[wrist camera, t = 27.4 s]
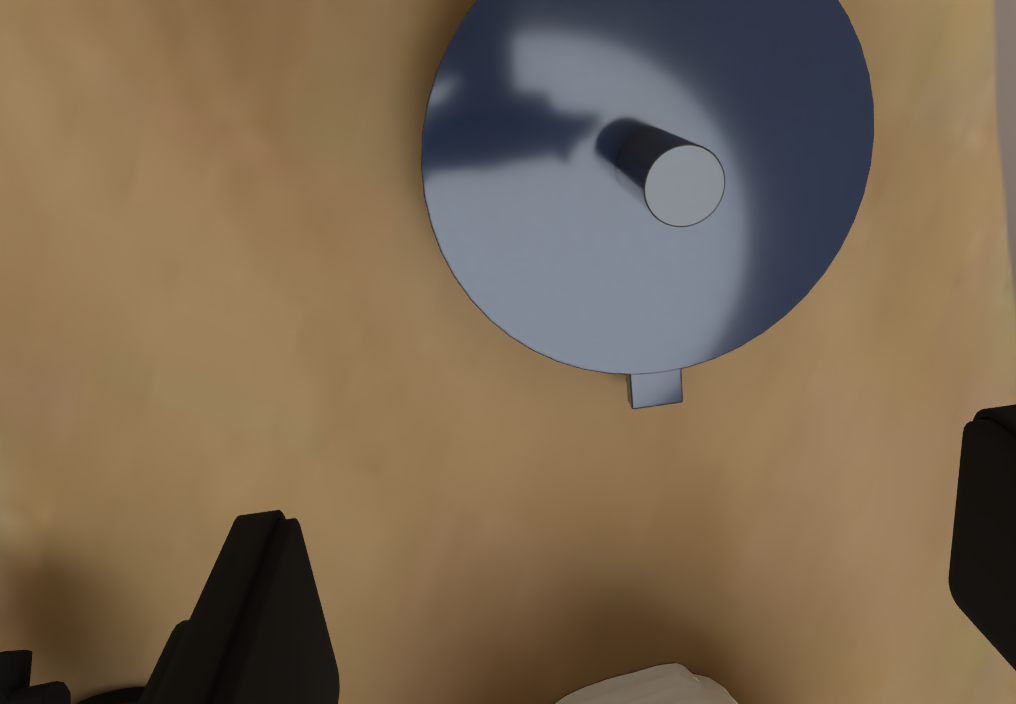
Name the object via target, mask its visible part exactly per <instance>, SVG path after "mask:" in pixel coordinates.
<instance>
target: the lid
mask: <svg viewBox="0 0 1016 704" xmlns="http://www.w3.org/2000/svg"><path fill="white" fill-rule="evenodd" d="M873 139H874V105H873V97H872V90H871V84H870V77H869V72H868V68H867V65H866V61H865V58H864V55H863V51H862V48H861V44H860V42H859V40H858V37H857V35H856V33H855V31H854V28H853V26H852V24H851V22H850V19H849V17H848V15H847V14H846V12H845V10H844V9H843V7H842V6H841V4H840V3H839V1H838V0H477V1H476V2H475V4H474V5H473V6H472V7H471V8H470V10H469V11H468V12H467V14H466V15H465V17H464V19H463V20H462V22H461V24H460V25H459V27H458V29H457V30H456V32H455V34H454V35H453V37H452V39H451V40H450V42H449V44H448V47H447V49H446V51H445V53H444V56H443V58H442V60H441V62H440V65H439V67H438V69H437V71H436V75H435V78H434V82H433V85H432V88H431V92H430V95H429V98H428V102H427V107H426V113H425V120H424V126H423V132H422V154H421V169H422V179H423V190H424V198H425V202H426V206H427V210H428V215H429V219H430V223H431V227H432V229H433V232H434V235H435V237H436V240H437V243H438V245H439V248H440V251H441V253H442V255H443V257H444V259H445V260H446V262H447V264H448V266H449V268H450V270H451V272H452V274H453V275H454V277H455V279H456V280H457V281H458V283H459V284H460V286H461V287H462V288H463V290H464V291H465V293H466V294H467V295H468V297H469V298H470V300H471V301H472V302H473V303H474V304H475V305H476V306H477V307H478V308H479V309H480V310H481V311H482V312H483V313H484V314H485V316H486V317H487V318H488V319H489V320H490V321H492V322H493V323H494V324H495V325H497V326H498V327H499V328H500V329H501V330H503V331H504V332H505V333H506V334H508V335H509V336H510V337H512V338H513V339H515V340H517V341H518V342H520V343H521V344H523V345H525V346H526V347H528V348H530V349H531V350H533V351H535V352H537V353H539V354H542V355H544V356H546V357H548V358H551V359H553V360H555V361H557V362H561V363H564V364H567V365H571V366H574V367H577V368H581V369H585V370H591V371H597V372H603V373H609V374H633V375H637V374H649V373H662V372H667V371H672V370H677V369H682V368H687V367H690V366H693V365H696V364H700V363H703V362H706V361H709V360H712V359H715V358H717V357H719V356H721V355H723V354H725V353H728V352H730V351H732V350H734V349H736V348H738V347H740V346H742V345H744V344H745V343H747V342H749V341H750V340H752V339H754V338H755V337H757V336H758V335H760V334H762V333H763V332H765V331H766V330H767V329H769V328H770V327H771V326H772V325H774V324H775V323H776V322H778V321H779V320H780V319H781V318H783V317H784V316H785V315H786V314H787V313H789V312H790V311H791V310H792V309H793V308H794V307H795V306H796V305H797V304H798V303H799V302H800V301H801V300H802V299H803V298H804V297H805V296H806V295H807V294H808V293H809V291H810V290H811V289H812V288H813V286H814V285H815V284H816V283H817V282H818V280H819V279H820V278H821V277H822V276H823V274H824V273H825V272H826V270H827V269H828V267H829V265H830V264H831V262H832V261H833V259H834V258H835V256H836V255H837V253H838V252H839V250H840V248H841V247H842V245H843V243H844V240H845V238H846V236H847V234H848V232H849V230H850V228H851V226H852V224H853V222H854V220H855V217H856V214H857V212H858V209H859V206H860V203H861V200H862V198H863V195H864V191H865V187H866V183H867V178H868V174H869V170H870V166H871V158H872V148H873Z"/></svg>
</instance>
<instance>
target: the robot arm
mask: <svg viewBox="0 0 1016 704" xmlns="http://www.w3.org/2000/svg"><path fill="white" fill-rule="evenodd" d="M949 587H950V591H951V594H952V597H953V599H954V601H955V603H956V604H957V605H958V607H959V608H960V609H961V610H962V611H963V612H964V614H965V615H966V616H967V617H968V618H969V619H970V620H971V621H972V622H973V624H974V625H975V626H976V627H977V628H978V629H979V630H980V631H981V633H982V634H983V635H984V636H985V637H986V638H987V639H988V640H989V641H990V643H991V644H992V645H993V646H994V647H995V648H996V649H997V650H998V651H999V653H1000V654H1001V655H1002V656H1003V657H1004V658H1005V659H1006V660H1007V662H1008V663H1009V664H1010V665H1011V666H1012V667H1013V668H1014V669H1015V670H1016V405H1009V406H1002V407H995V408H988V409H982V410H980V411H979V412H977V414H976V415H975V417H974V419H973V421H970V422H969V423H967V424H966V426H965V427H964V431H963V437H962V447H961V457H960V468H959V478H958V488H957V498H956V508H955V518H954V528H953V538H952V548H951V558H950V568H949ZM339 687H340V686H339V673H338V668H337V664H336V660H335V656H334V652H333V649H332V645H331V641H330V637H329V633H328V630H327V626H326V622H325V618H324V614H323V611H322V607H321V603H320V599H319V595H318V591H317V588H316V584H315V580H314V576H313V572H312V569H311V565H310V561H309V557H308V553H307V550H306V546H305V542H304V538H303V534H302V531H301V527H300V524H299V522H298V520H297V519H296V518H293V519H285V516H284V514H283V513H282V512H281V511H280V510H275V511H268V512H261V513H254V514H247V515H240V516H237V518H236V519H235V521H234V523H233V525H232V528H231V530H230V532H229V534H228V536H227V538H226V541H225V543H224V545H223V547H222V549H221V552H220V554H219V556H218V558H217V560H216V563H215V565H214V567H213V569H212V571H211V574H210V576H209V578H208V580H207V582H206V584H205V587H204V589H203V591H202V593H201V595H200V598H199V600H198V602H197V604H196V606H195V609H194V611H193V613H192V615H191V617H190V620H185V621H182V622H180V623H179V624H177V625H176V627H175V628H174V630H173V631H172V633H171V635H170V637H169V639H168V641H167V643H166V645H165V647H164V649H163V652H162V654H161V656H160V658H159V660H158V662H157V664H156V666H155V668H154V670H153V673H152V675H151V677H150V679H149V681H148V683H147V685H146V687H145V689H144V691H143V694H142V696H141V698H140V700H139V702H138V704H338V700H339Z"/></svg>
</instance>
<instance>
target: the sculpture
mask: <svg viewBox="0 0 1016 704" xmlns="http://www.w3.org/2000/svg"><path fill="white" fill-rule="evenodd" d="M31 662H32V651H29V650H16V651H4V652H0V704H70V703H71V696H70V691H69V690H68V688H67V686H66V685H65V683H64V682H59V681H55V682H50V683H45V684H40V685H35V686H30V674H31ZM144 689H145V687H143V688H129V689H123V690H116V691H112V692H108V693H104V694H101V695H97V696H94V697H92V698H89V699H87V700H84V701H81V702H79V703H78V704H138V702H139V700H140V698H141V696H142V694H143V691H144Z"/></svg>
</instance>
